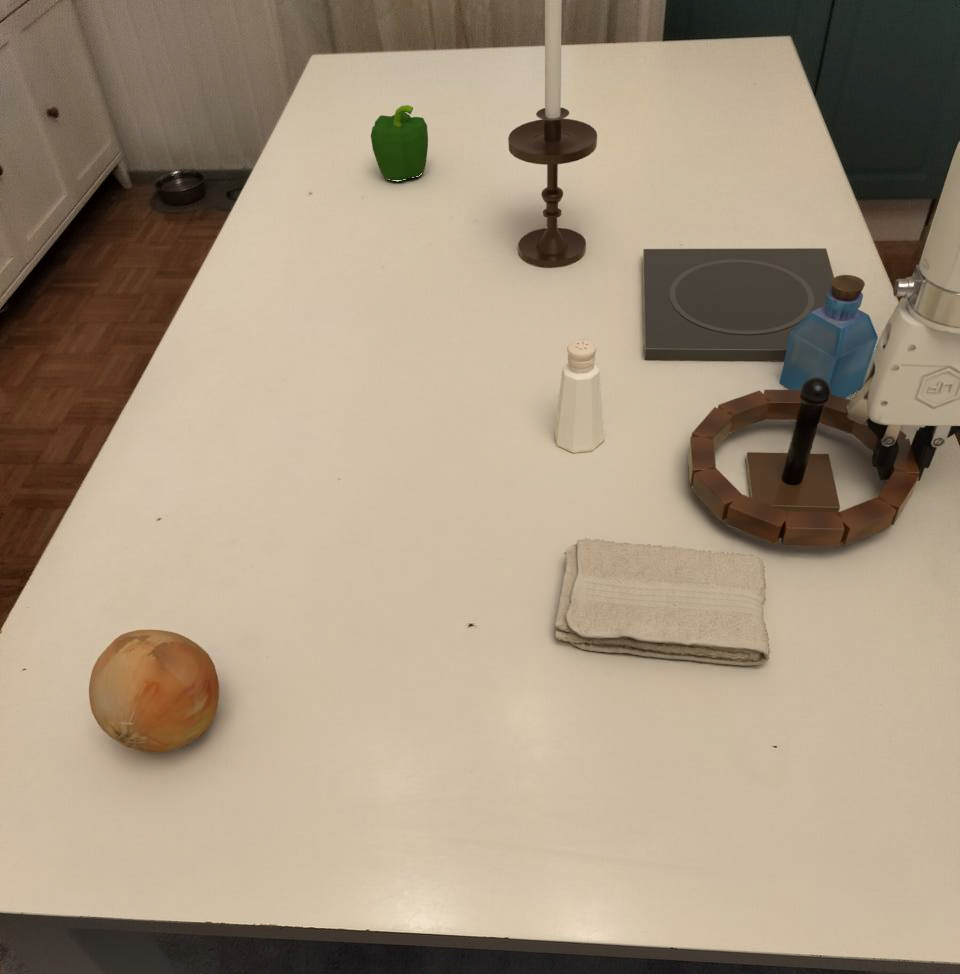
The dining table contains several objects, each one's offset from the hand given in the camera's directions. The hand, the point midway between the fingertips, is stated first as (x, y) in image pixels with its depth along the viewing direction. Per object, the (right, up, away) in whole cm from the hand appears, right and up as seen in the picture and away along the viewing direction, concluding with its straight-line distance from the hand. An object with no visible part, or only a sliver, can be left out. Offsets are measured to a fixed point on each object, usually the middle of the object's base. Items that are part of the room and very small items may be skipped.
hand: (897, 470), depth 87 cm
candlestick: (-30, +36, +35) cm, 59 cm away
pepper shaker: (-29, +5, +10) cm, 31 cm away
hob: (-8, +24, +24) cm, 35 cm away
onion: (-65, -23, -11) cm, 70 cm away
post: (-9, -1, +3) cm, 10 cm away
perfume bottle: (-2, +12, +13) cm, 18 cm away
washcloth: (-24, -14, -6) cm, 28 cm away
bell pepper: (-52, +55, +53) cm, 92 cm away
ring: (-9, 0, +1) cm, 9 cm away
